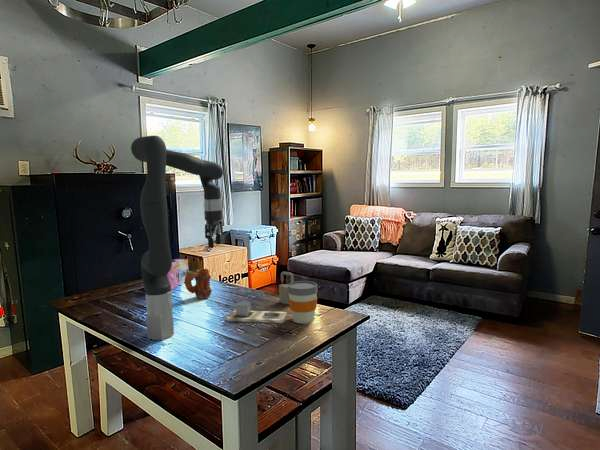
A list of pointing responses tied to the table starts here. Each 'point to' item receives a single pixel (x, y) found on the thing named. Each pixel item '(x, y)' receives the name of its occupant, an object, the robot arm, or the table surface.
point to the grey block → (243, 309)
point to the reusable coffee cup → (302, 300)
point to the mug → (199, 283)
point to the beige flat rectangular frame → (260, 317)
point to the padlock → (284, 288)
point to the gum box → (177, 272)
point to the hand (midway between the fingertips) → (215, 245)
